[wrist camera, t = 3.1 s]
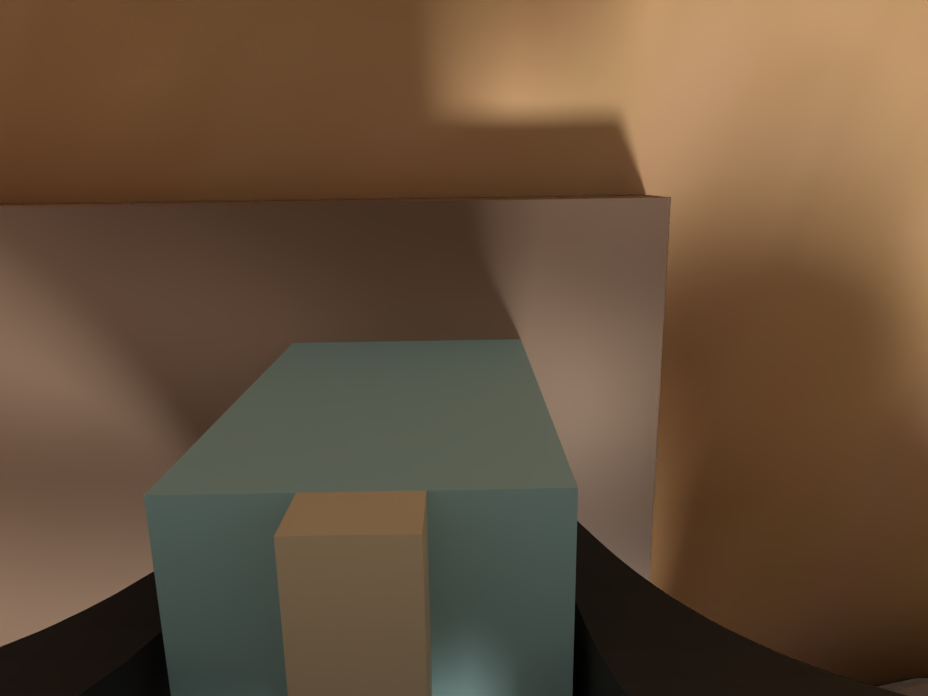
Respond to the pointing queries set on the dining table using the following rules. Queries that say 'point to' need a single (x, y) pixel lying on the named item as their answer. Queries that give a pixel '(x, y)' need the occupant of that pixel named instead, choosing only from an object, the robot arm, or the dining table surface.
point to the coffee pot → (909, 687)
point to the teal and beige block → (372, 530)
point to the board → (297, 321)
